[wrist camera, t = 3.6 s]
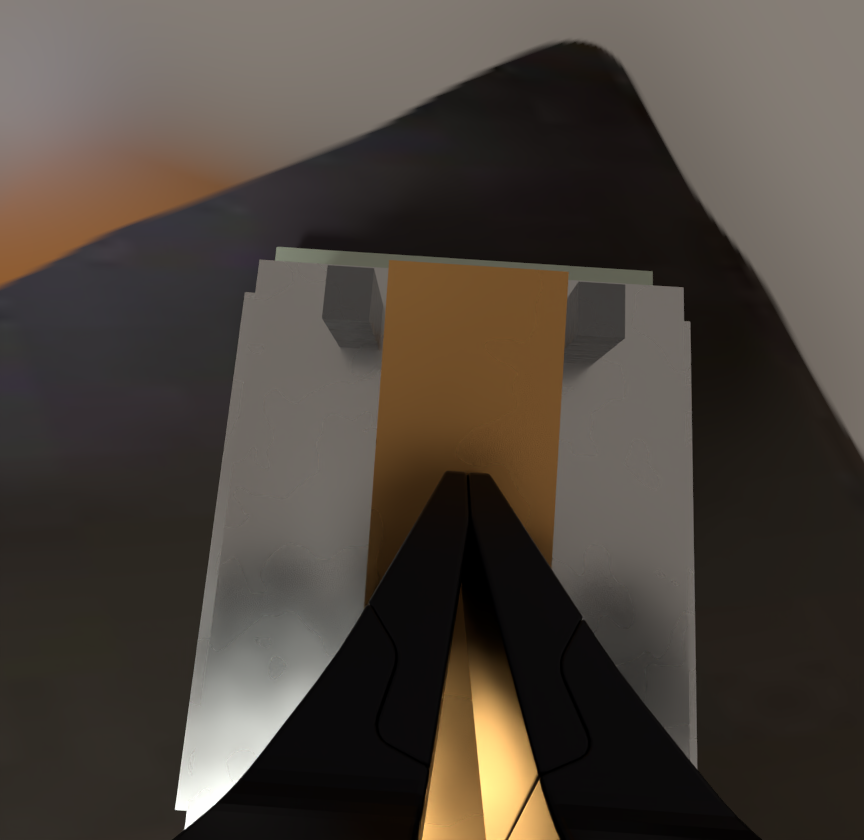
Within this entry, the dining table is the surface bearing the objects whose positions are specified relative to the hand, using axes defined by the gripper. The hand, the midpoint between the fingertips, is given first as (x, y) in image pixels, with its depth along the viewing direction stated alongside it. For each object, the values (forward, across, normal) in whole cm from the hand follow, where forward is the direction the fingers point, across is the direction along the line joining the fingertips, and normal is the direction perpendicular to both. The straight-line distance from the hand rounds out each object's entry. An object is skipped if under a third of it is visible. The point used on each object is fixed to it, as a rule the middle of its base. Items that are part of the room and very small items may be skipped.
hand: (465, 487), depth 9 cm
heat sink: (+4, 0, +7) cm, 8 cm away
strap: (-1, 0, +3) cm, 3 cm away
